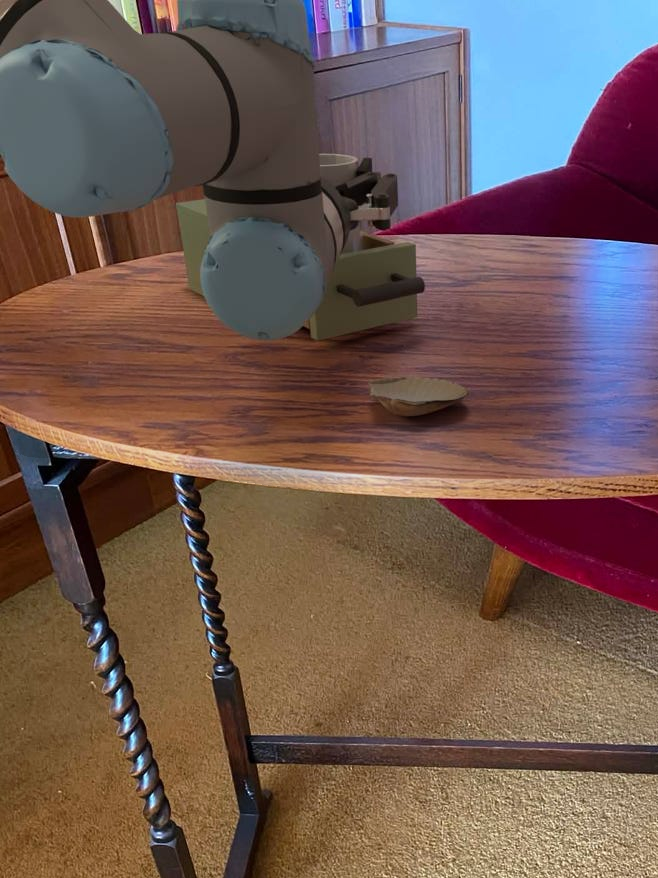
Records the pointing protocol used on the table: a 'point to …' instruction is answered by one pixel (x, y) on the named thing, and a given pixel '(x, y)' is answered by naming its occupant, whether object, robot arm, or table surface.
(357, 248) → the canister
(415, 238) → the table surface
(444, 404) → the seashell
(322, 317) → the drawer
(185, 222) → the cabinet
